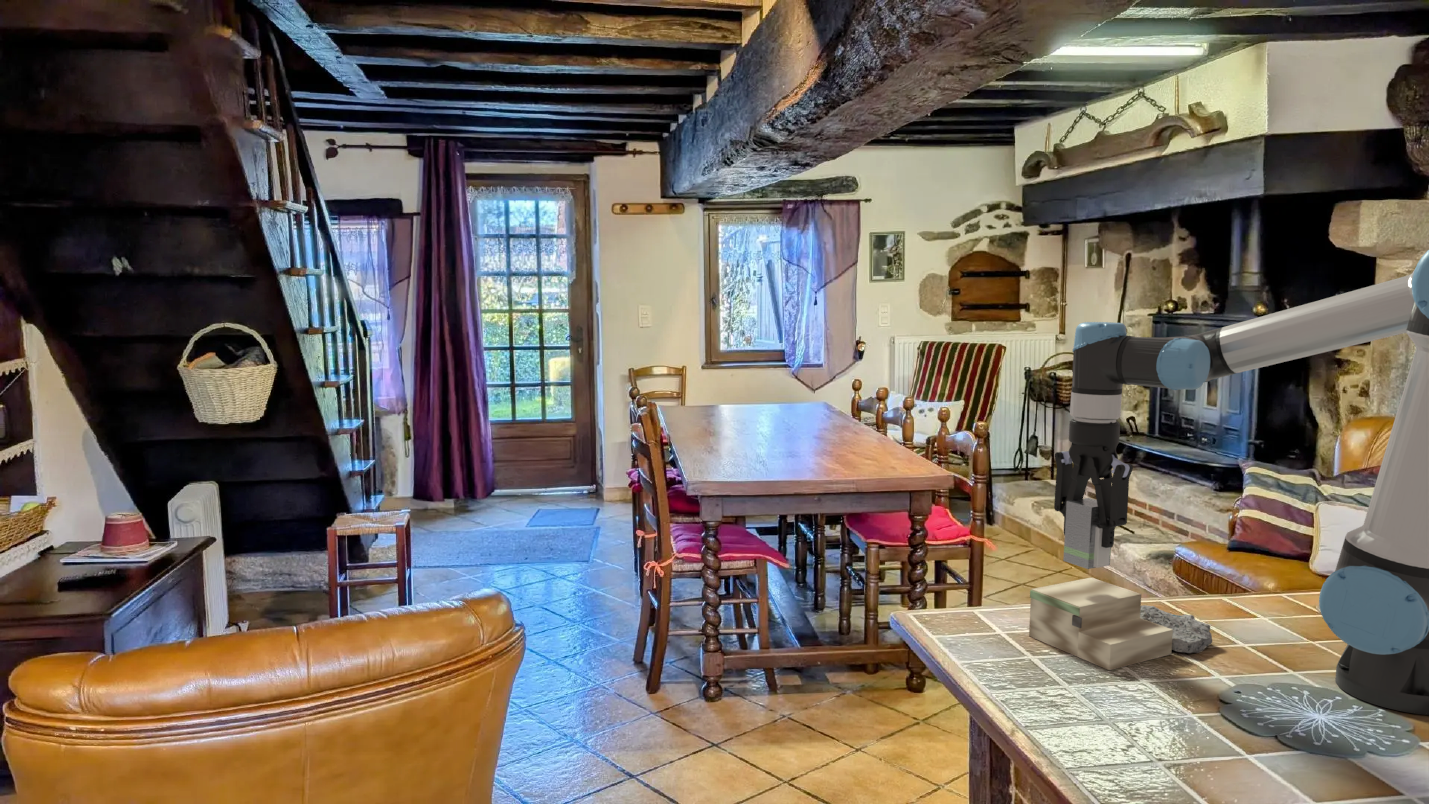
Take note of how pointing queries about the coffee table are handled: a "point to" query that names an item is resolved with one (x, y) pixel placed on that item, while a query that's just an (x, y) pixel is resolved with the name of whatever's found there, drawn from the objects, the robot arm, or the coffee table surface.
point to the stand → (1096, 623)
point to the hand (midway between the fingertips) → (1086, 561)
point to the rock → (1180, 629)
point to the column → (1081, 532)
